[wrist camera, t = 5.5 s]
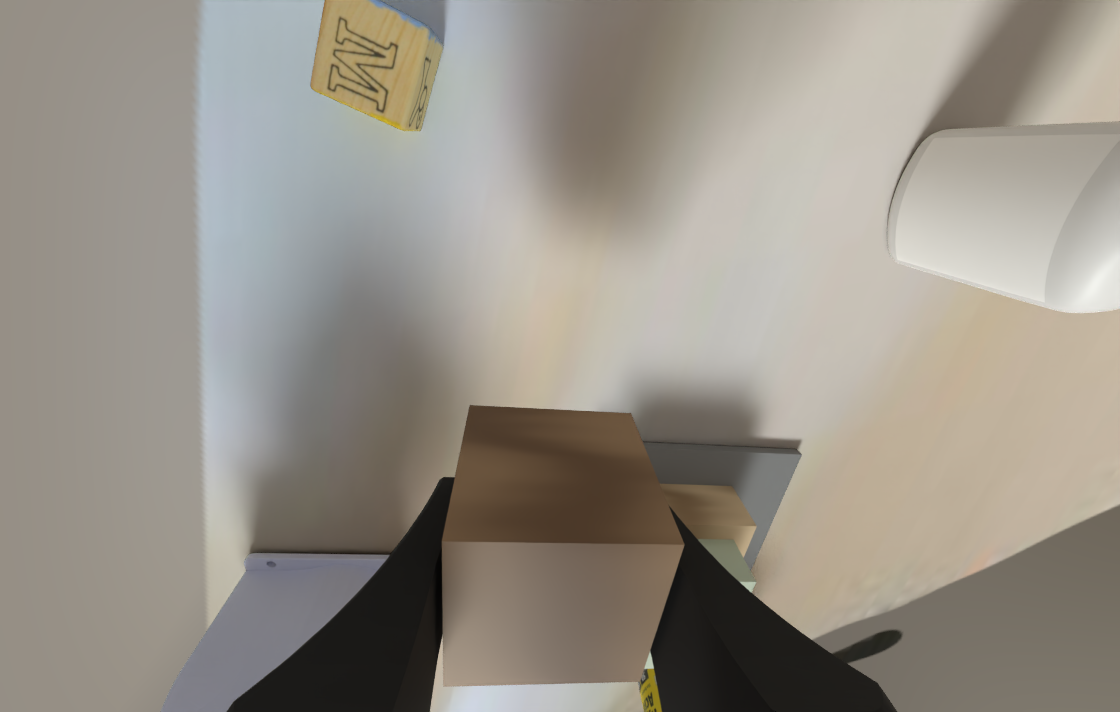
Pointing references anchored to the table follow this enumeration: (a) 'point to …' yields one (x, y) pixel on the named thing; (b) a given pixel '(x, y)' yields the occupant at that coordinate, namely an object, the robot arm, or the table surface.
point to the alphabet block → (376, 61)
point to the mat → (731, 476)
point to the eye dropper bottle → (1016, 212)
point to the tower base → (711, 512)
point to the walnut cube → (553, 550)
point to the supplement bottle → (649, 691)
